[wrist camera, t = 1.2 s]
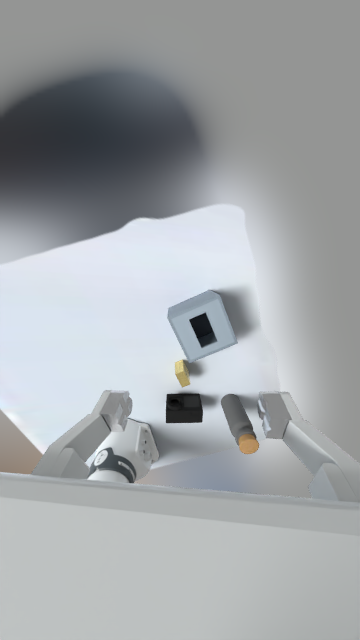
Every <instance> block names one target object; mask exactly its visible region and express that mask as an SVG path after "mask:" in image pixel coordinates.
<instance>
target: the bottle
mask: <svg viewBox="0 0 360 640" xmlns="http://www.w3.org/2000/svg"><path fill="white" fill-rule="evenodd" d="M221 405H222V408H223V411H224V413H225V416H226V419H227V422H228V425H229V427H230V430H231V433H232V435H233V436H234V437H235V440H236V442H237V444H238V445H239V447H240V450H241V452H242V453H244V454H252V453H254V452H255V451H257V450H258V448H259V443H258V441H257V440H256V435H255V433H254V432H253V426H252V424H251V422H250V420H249V418H248V416H247V414H246V412H245V410H244V408H243V406H242V404H241V402H240V400H239V399H238V397H237V396H236V395H234V394H228V395H226V396H224V397H223V398H222V400H221Z"/></svg>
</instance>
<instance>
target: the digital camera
mask: <svg viewBox="0 0 360 640" xmlns="http://www.w3.org/2000/svg"><path fill="white" fill-rule="evenodd" d="M202 416H203V409H202V404H201V400H200V395H199V394H167V400H166V423H199V422H202Z"/></svg>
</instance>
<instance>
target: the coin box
mask: <svg viewBox="0 0 360 640" xmlns="http://www.w3.org/2000/svg"><path fill="white" fill-rule="evenodd" d="M205 312H206V314H207V317H208V319H209V322H210V324H211V326H212V329H213V331H214V332H212V333H209V334H207V335H205V336H202V337H200V338H197V337H196V335H195V332H194V330H193V328H192V326H191V323H190V321H189V319H191V318H194V317H196V316H198V315H201V314H203V313H205ZM168 320H169V322H170V324H171V326H172V328H173V330H174V333H175V335H176V337H177V339H178V341H179V343H180V345H181V347H182V349H183V351H184V353H185V355H186V357H187V359H188V361H189V363H191V362H194V361H196V360H198V359H201V358H203V357H206V356H208V355H210V354H213V353H215V352H218V351H220V350H223V349H225V348H227V347H230V346H232V345H235V344H237V343H238V342H237V340H236V337H235V334H234V332H233V329H232V326H231V324H230V321H229V318H228V316H227V313H226V310H225V308H224V305H223V302H222V300H221V297H220V295H219V294H217V293H215V292H213V291H211V290H208V291H206V292H204V293H202V294H199V295H197V296H195V297H193V298H190V299H188V300H186V301H184V302H181V303H179V304H177V305H175V306H172V307H170V308H169V310H168Z"/></svg>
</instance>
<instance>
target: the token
mask: <svg viewBox="0 0 360 640" xmlns="http://www.w3.org/2000/svg"><path fill="white" fill-rule="evenodd" d="M175 375H176V376H177V378H178V380H179V382H180V384H181V386H182V387H185V386H187V385H190V378H189V372H188V370H187V368H186V365H185V363H184V361H183V360H180V361H178V362H176V363H175Z"/></svg>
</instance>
